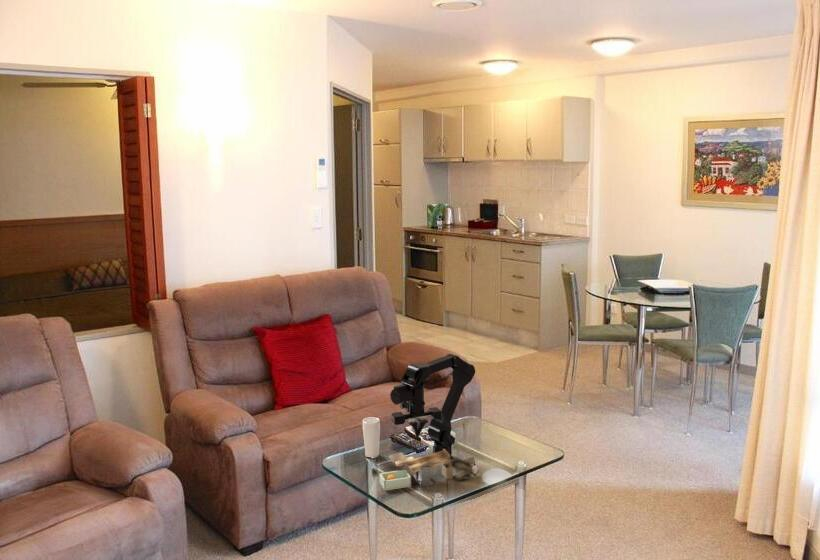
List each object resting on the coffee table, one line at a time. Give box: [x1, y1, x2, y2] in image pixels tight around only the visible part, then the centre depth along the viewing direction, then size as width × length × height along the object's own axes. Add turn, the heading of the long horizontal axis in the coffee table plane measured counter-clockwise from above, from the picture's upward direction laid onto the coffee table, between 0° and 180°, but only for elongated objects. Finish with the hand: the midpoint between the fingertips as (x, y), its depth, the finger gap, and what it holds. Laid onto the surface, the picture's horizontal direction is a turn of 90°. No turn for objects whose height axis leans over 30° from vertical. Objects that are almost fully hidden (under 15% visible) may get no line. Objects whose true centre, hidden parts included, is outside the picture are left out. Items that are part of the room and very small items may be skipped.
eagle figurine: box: [450, 459, 479, 482], centre depth 268 cm, size 8×7×9 cm
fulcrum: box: [412, 456, 454, 488], centre depth 268 cm, size 13×9×7 cm
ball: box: [387, 475, 396, 480], centre depth 263 cm, size 3×3×3 cm
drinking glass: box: [362, 416, 381, 459], centre depth 286 cm, size 7×7×15 cm
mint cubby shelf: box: [378, 469, 412, 492], centre depth 264 cm, size 10×7×4 cm
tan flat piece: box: [388, 449, 452, 474], centre depth 269 cm, size 20×14×3 cm
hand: (417, 437), depth 276 cm, fingers closed
